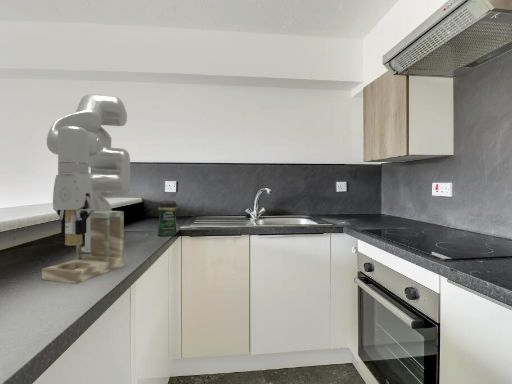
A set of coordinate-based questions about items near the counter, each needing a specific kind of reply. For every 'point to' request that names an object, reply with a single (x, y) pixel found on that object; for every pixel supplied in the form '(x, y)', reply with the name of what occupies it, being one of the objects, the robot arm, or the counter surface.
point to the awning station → (94, 250)
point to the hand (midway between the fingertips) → (74, 232)
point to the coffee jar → (167, 218)
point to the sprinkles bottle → (71, 228)
